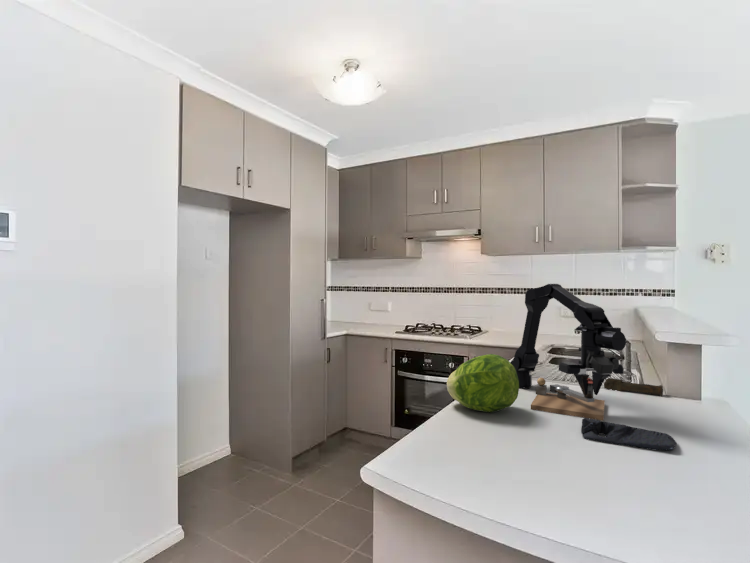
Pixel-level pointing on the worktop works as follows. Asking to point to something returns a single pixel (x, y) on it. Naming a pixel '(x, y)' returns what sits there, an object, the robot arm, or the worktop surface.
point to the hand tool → (632, 387)
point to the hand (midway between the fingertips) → (590, 394)
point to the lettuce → (484, 383)
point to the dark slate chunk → (626, 435)
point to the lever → (573, 393)
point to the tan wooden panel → (566, 404)
